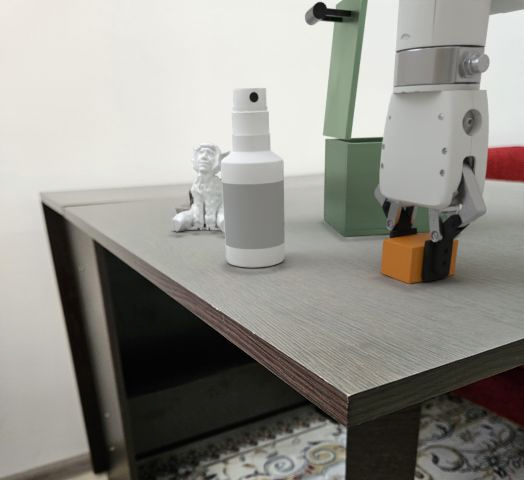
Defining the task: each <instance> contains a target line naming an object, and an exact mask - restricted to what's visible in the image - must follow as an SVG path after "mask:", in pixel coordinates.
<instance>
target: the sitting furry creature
mask: <svg viewBox="0 0 524 480" xmlns="http://www.w3.org/2000/svg"><path fill="white" fill-rule="evenodd" d="M192 150H193V157H192V158H191V162H192V165H193V167H192V168H193V170H194V171H195V172H196V173H197V175H196V176H195V177H194V178H193V181H192V182H193V183H192V185H191V188H190V189H191V191H190V192H191V194H192V196H193V198H194V203H193V204H192V205H191V209H190V210H189V211H188V210H187V211H184V212H181V213H179V214H177V213H176V214H175V215H174V216H173V217H172V218H171V219H170V220H169V227H170V229H171V230H172V231H173V232H176V233H179V232H184V231H198V230H199V231H203V230H206V231H221V232H222V233H223V234H225V228H224V211H223V194H222V182H221V180H219V179H220V177H219V176H218V175H217V174H218V173H219V172H221V161H222V160H223V159H224V158H225V157H226V156H228V155H229V154H230V153H231V151H230V150H228V151H224V152H222V151H221V148H220V147H219V146H218V145H216V144H214V143H213V142H210V141H207V142H205V141H203V142H200V143H199V144H198V145H196V147H193V149H192Z"/></svg>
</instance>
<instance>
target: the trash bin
mask: <svg viewBox="0 0 524 480" xmlns="http://www.w3.org/2000/svg"><path fill="white" fill-rule="evenodd" d="M382 142H383V136H369V137H368V136H367V137H351V140H345V139H340V138H325V139H324V179H323V181H324V182H323V184H324V185H323V220H324V221H325V222H326V223H328V224H329V225H330V226H331V227H332V228H334V229H335V230H336V231H337V232H338V233H339V234H341V235H342V236H343V237H361V236H362V237H363V236H377V235H378V236H379V235H390V231H392V230H388V228H387V226H386V222H387V218H386V216H385V213H384V211H383V208H382V206H381V204H380V203H379V201H378V200H377V199H376V197H375V194H374V192H375V189H376V188H377V186H378V184H379V182H380V161H381V151H382ZM404 209H406V207H404ZM442 220H443V223H444V222H445V221H446V220H447V217H446V213H442ZM412 228H417V233H427V232H428V233H430V227H429V209H428V208H426V207H421V206H418V209H417V213H416V217H415V221H414V224H413V226H412Z"/></svg>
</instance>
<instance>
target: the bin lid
mask: <svg viewBox="0 0 524 480" xmlns="http://www.w3.org/2000/svg"><path fill="white" fill-rule="evenodd" d="M368 3H369V0H340V1H339V2H338V3H336V5H335V8H330V7H327V4H325V2H323V1H317V2H316V3H314V4H313V5H312V6H311V7H310V8H309V9H308V10H307V11H306V12H305V14H304V20H305V23H306V24H307V25H308V26H315V25H316V24H318V23H319V22H326V23H333V30H332V41H331V49H330V59H329V60H330V61H329V70H328V80H327V90H326V100H325V110H324V118H323V119H324V120H323V130H322V136H324V137H328V138H329V137H330V138H333V139H336V138H340V139H345V140H351V138H352V133H353V127H354V126H353V125H354V119H355V118H354V117H355V108H356V103H357V102H356V100H357V93H358V86H359V85H358V84H359V76H360V70H361V69H360V68H361V61H362V51H363V44H364V36H365V35H364V34H365V27H366V18H367V11H368Z"/></svg>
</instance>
